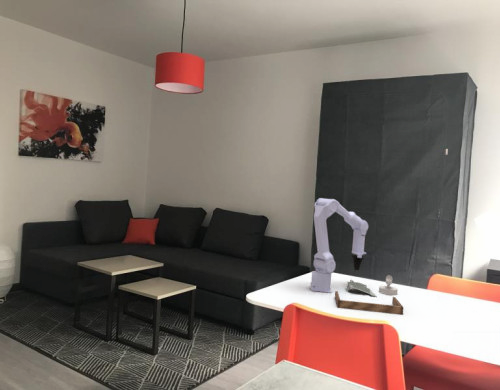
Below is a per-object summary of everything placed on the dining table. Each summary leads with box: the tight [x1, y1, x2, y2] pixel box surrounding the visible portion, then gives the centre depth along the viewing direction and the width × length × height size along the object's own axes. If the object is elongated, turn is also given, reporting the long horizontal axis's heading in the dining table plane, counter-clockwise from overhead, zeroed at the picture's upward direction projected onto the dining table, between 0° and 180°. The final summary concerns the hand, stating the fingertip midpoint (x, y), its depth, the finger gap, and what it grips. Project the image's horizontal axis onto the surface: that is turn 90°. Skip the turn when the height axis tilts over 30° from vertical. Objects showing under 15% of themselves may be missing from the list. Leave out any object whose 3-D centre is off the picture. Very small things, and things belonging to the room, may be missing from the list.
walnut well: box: [334, 290, 404, 315], centre depth 178 cm, size 26×16×3 cm, turn 82°
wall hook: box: [378, 274, 399, 296], centre depth 204 cm, size 9×10×10 cm
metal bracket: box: [344, 279, 378, 298], centre depth 202 cm, size 14×6×15 cm
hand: (356, 269), depth 211 cm, fingers closed
